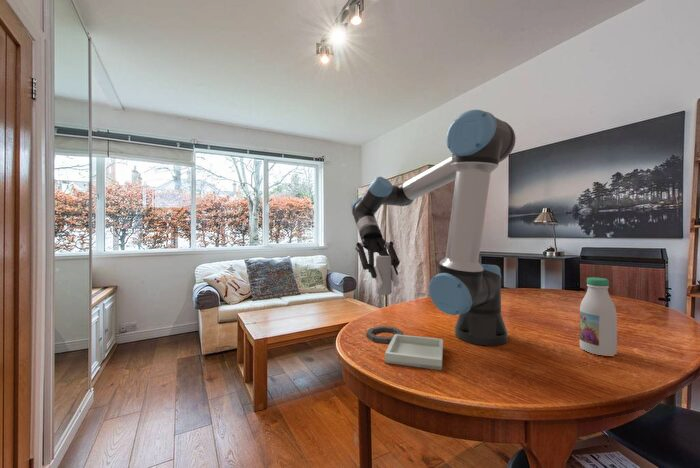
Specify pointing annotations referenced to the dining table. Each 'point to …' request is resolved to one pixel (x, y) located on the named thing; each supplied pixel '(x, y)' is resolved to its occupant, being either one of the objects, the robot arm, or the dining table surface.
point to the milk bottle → (598, 319)
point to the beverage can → (384, 274)
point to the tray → (415, 351)
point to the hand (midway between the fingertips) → (388, 285)
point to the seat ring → (379, 329)
